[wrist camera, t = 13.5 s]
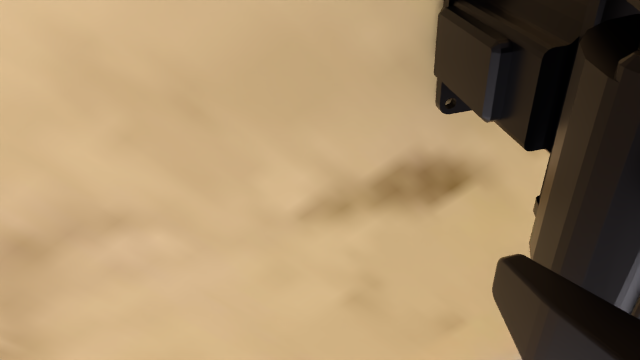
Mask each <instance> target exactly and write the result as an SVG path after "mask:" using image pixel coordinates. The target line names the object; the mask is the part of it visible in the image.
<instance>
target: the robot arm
mask: <svg viewBox="0 0 640 360" xmlns="http://www.w3.org/2000/svg"><path fill="white" fill-rule="evenodd" d="M434 75H435V76H436V77H437V89H436V106H437V107H438V109H439V110H440V111H441V112H442V113H444V114H453V113H459V112H464V111H470V110H473V111H474V112H475V113H476V114H477V115H478V116H479V117H480V118H482V119H483V120H484V121H485V122H493V121H494V122H495V123H496V124H497V125H499V126H500V127H501V128H502V129H503V130H504V131H505V132H506V133H507V134H509V135H510V136H511V137H512V138H513V139H514V140H515V141H516V142H517V143H518V144H520V145H521V146H522V147H523V148H524V149H525V150H526V151H535V150H540V149H545V150H546V151H547V152H549V153H550V157H549V161H548V165H547V169H546V173H545V177H544V181H543V185H542V189H541V193H540V196H537V198H536V201H535V205H534V209H533V212H534V214H535V217H536V218H535V222H534V226H533V229H532V233H531V237H530V241H529V245H530V257H531V259H530V258H528V257H526V256H524V255H521V254H515V255H511V256H506V257H502V258H500V259H499V261H498V263H497V267H496V272H495V277H494V282H493V287H492V292H493V297H494V300H495V302H496V304H497V306H498V308H499V310H500V313H501V315H502V317H503V319H504V321H505V323H506V325H507V328H508V330H509V332H510V334H511V336H512V338H513V340H514V343H515V345H516V347H517V349H518V351H519V353H520V355H521V358H522V360H640V0H444V6H443V9H442V10H441V12H440V13H439V15H438V27H437V39H436V52H435V64H434ZM450 98H452V100H451V102H450V103H449V104H447V105H445V103H446V101H447V100H448V99H450Z"/></svg>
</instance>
